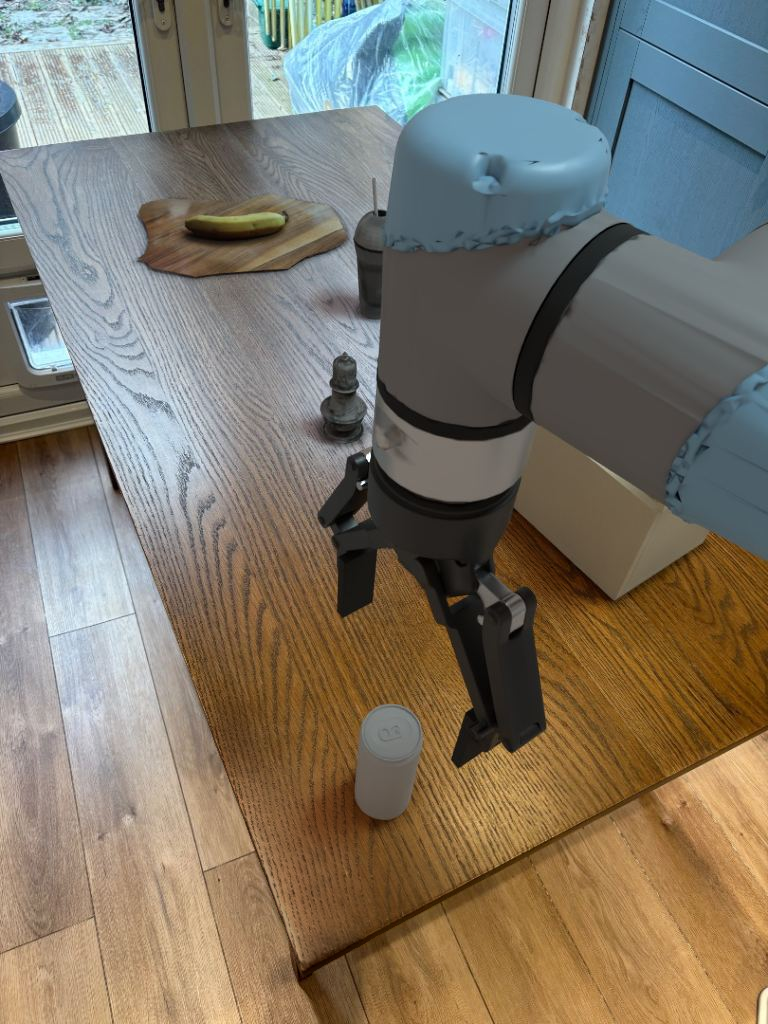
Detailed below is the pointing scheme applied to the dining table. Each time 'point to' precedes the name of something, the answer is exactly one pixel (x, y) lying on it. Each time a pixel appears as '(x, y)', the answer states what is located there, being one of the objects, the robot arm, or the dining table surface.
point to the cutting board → (236, 234)
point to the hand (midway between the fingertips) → (408, 675)
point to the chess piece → (343, 403)
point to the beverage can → (387, 760)
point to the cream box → (599, 517)
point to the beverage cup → (370, 259)
